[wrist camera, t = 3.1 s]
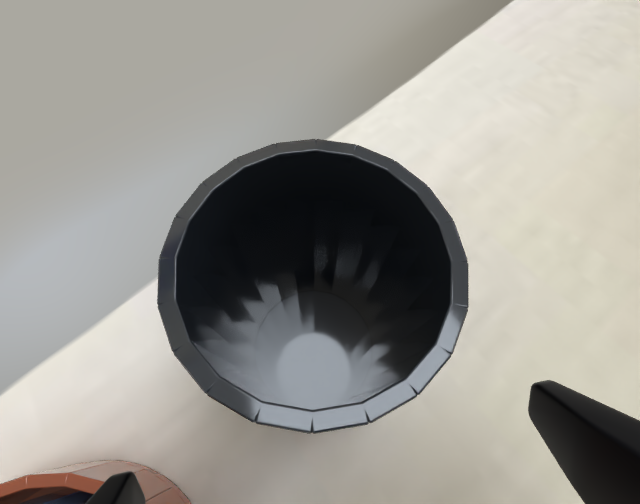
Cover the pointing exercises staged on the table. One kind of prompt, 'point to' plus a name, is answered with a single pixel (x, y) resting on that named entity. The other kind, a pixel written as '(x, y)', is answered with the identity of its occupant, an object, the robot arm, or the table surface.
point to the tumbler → (313, 286)
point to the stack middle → (61, 497)
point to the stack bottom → (90, 482)
